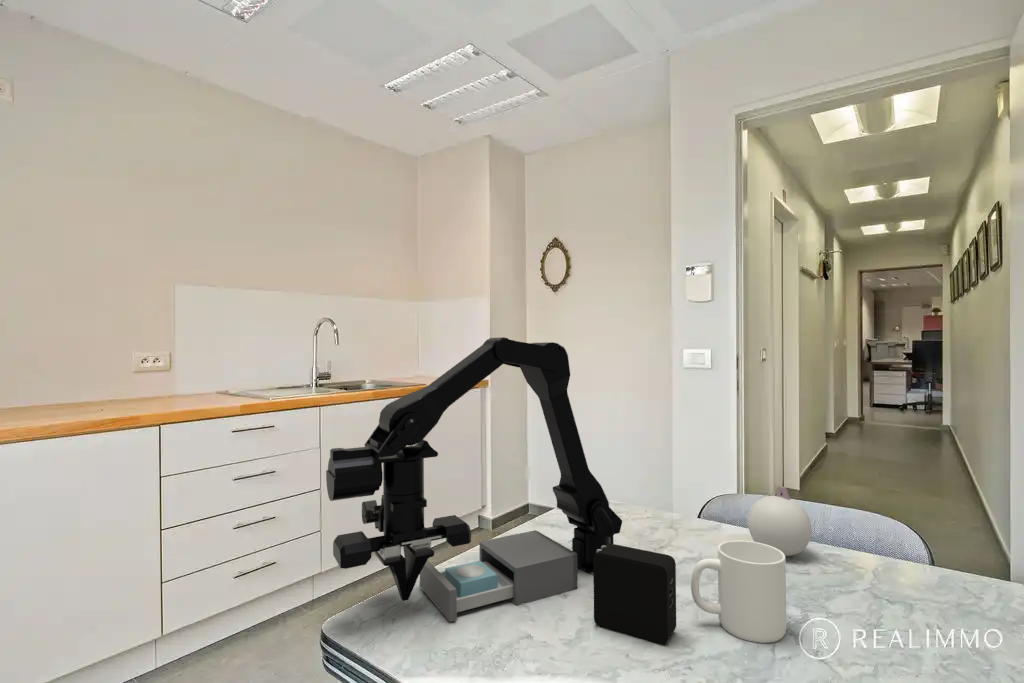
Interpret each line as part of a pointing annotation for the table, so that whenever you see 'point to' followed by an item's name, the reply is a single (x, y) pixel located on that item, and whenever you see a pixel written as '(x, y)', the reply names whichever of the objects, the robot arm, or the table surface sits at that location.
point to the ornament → (780, 523)
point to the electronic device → (635, 592)
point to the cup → (747, 590)
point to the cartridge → (471, 578)
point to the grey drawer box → (532, 564)
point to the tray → (447, 593)
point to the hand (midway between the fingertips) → (404, 599)
